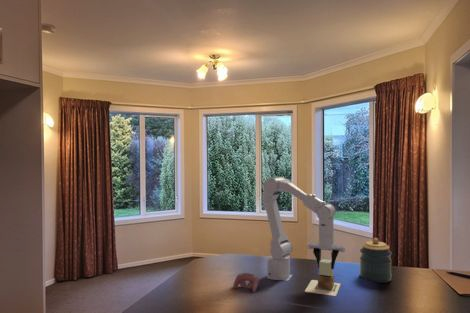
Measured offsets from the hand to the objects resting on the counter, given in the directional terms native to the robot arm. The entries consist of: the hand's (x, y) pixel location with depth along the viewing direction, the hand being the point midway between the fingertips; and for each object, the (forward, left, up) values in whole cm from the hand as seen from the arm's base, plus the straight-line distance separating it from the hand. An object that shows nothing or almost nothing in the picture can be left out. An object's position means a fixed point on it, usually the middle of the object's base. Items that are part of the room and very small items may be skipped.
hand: (326, 267), depth 151 cm
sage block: (0, 0, -2) cm, 2 cm away
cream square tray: (-1, -1, -8) cm, 9 cm away
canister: (+18, +20, -9) cm, 28 cm away
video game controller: (-30, -12, -9) cm, 34 cm away
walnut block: (0, 0, -8) cm, 8 cm away
